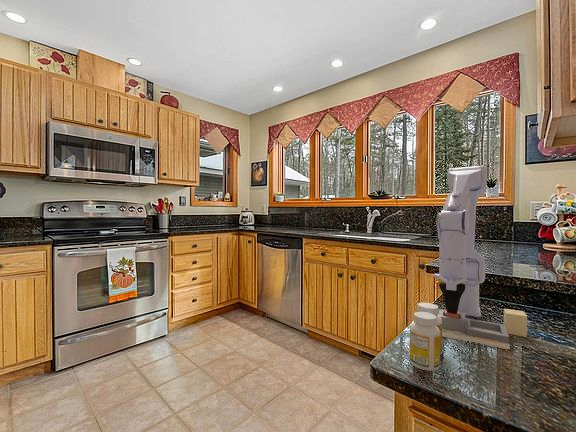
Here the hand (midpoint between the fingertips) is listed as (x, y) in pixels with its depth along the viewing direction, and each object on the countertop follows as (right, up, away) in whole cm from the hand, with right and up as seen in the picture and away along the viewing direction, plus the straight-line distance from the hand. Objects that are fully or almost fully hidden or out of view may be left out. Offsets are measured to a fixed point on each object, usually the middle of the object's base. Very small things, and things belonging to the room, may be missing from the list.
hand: (451, 312), depth 70 cm
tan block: (+15, -5, -1) cm, 16 cm away
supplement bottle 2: (-14, -5, -16) cm, 22 cm away
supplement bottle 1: (-11, -5, -10) cm, 16 cm away
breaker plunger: (0, -3, 0) cm, 3 cm away
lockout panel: (+3, -5, -2) cm, 6 cm away
